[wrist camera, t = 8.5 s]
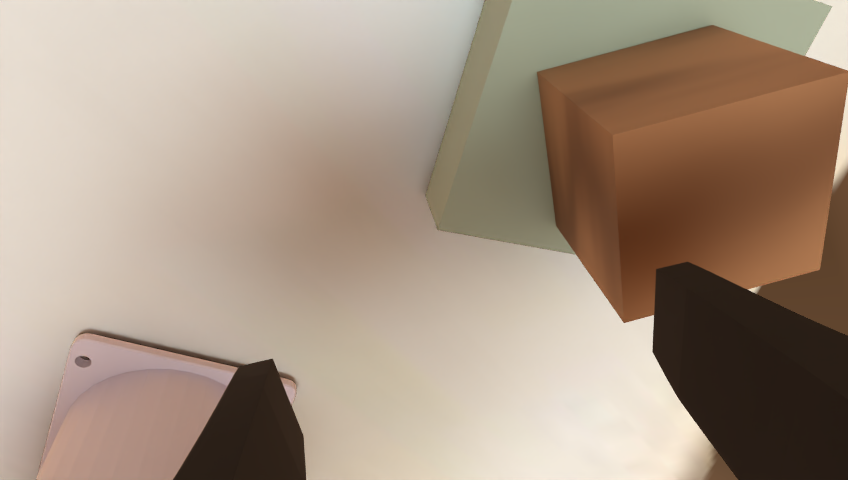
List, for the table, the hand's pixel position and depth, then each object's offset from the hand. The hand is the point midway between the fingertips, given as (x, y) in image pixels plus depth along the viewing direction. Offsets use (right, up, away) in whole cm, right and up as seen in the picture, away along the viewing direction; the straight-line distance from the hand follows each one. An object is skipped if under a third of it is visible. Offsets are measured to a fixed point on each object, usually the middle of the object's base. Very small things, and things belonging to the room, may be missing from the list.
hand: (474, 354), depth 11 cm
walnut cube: (+5, +5, +7) cm, 10 cm away
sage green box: (+5, +7, +9) cm, 12 cm away
